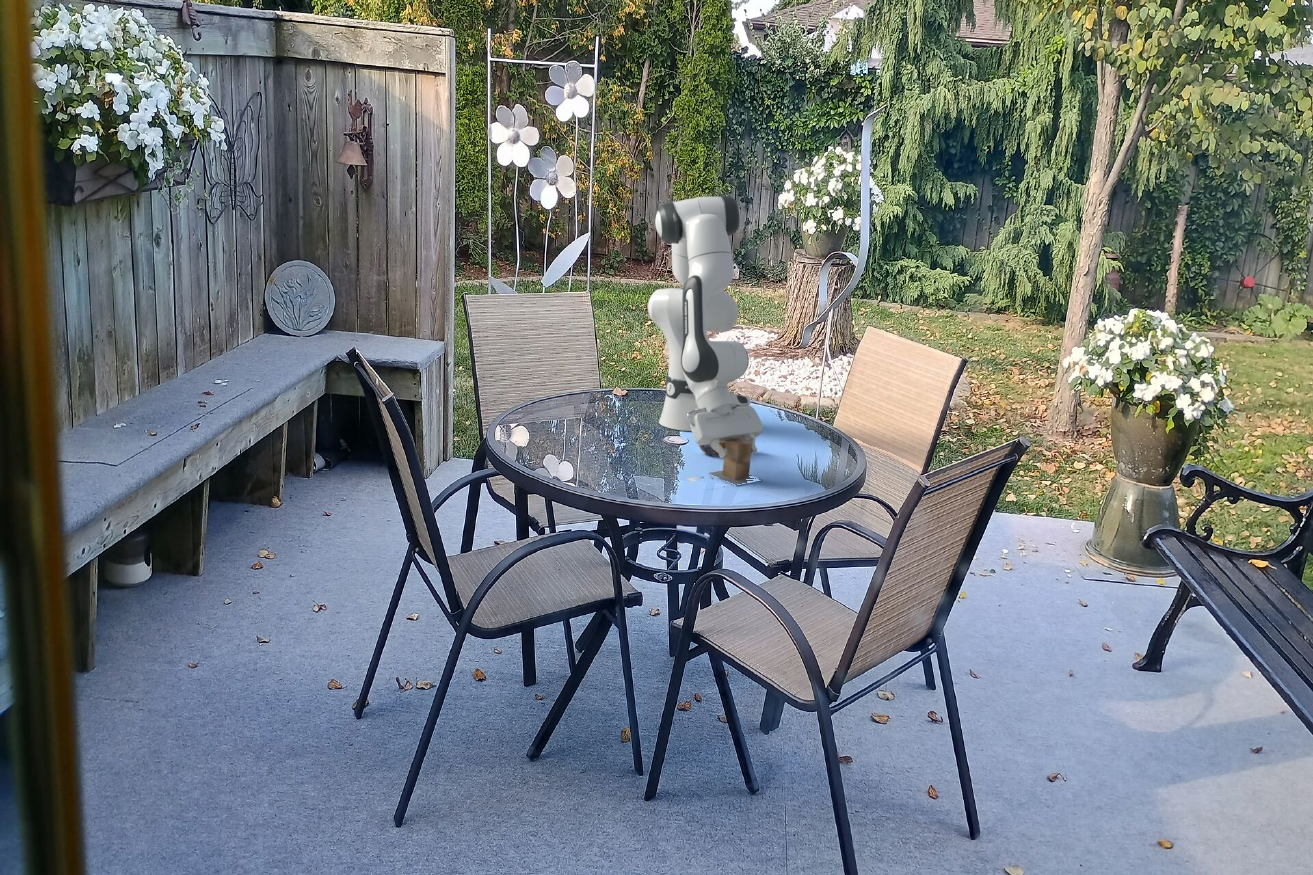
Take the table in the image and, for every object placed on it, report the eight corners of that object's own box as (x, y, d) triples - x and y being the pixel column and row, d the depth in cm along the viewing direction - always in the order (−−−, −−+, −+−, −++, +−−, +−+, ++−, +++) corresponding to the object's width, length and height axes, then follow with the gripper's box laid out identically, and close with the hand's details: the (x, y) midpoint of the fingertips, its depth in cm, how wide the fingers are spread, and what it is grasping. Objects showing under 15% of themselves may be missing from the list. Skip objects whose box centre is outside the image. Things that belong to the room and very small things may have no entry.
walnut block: (736, 472, 277) (739, 437, 275) (748, 477, 274) (752, 442, 272) (722, 474, 275) (725, 439, 272) (734, 480, 271) (738, 444, 269)
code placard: (707, 476, 275) (707, 475, 275) (731, 487, 268) (731, 485, 268) (685, 480, 271) (685, 478, 270) (709, 491, 264) (709, 489, 264)
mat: (735, 470, 281) (735, 468, 281) (761, 481, 273) (762, 479, 273) (709, 474, 276) (709, 472, 275) (735, 486, 268) (735, 484, 268)
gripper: (691, 404, 268) (713, 453, 264) (753, 396, 281) (776, 443, 276) (678, 417, 273) (700, 466, 268) (740, 409, 285) (762, 456, 281)
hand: (739, 454), depth 272 cm, fingers open, 8 cm apart
